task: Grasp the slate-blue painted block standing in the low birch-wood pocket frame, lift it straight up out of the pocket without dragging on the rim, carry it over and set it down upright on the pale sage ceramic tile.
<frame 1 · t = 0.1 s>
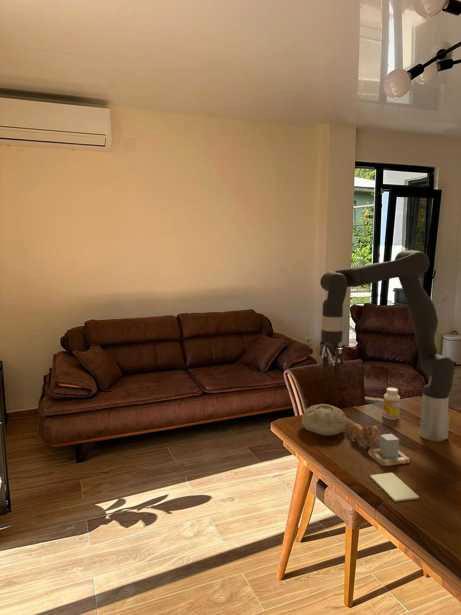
hand: (330, 372, 157), 29 cm above the table, fingers open, 8 cm apart
decorative shell: (323, 431, 176), on the table
lion figurine: (363, 444, 164), on the table
pocket frame: (388, 458, 153), on the table
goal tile: (393, 487, 135), on the table
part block: (389, 447, 153), in the pocket frame
supplement bottle: (390, 417, 190), on the table
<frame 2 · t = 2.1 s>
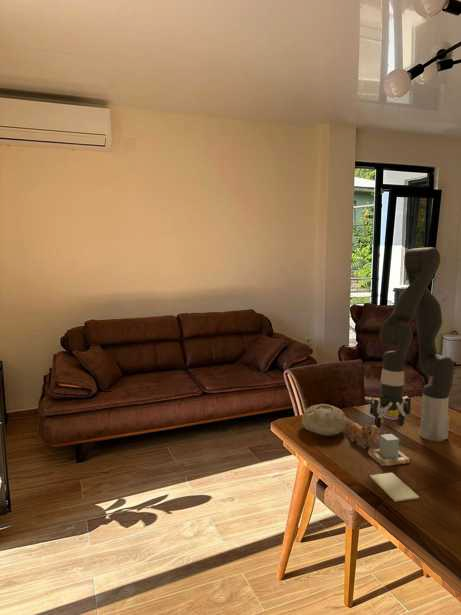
hand: (389, 426, 152), 12 cm above the table, fingers open, 8 cm apart
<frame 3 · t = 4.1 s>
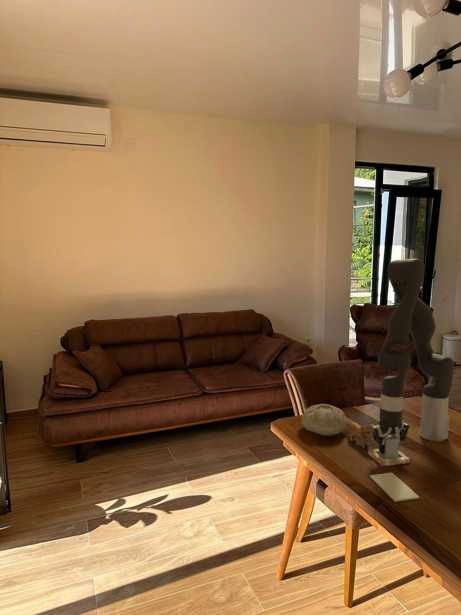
hand: (388, 452, 153), 2 cm above the table, fingers closed on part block, 4 cm apart
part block: (389, 447, 153), in the pocket frame, touching gripper
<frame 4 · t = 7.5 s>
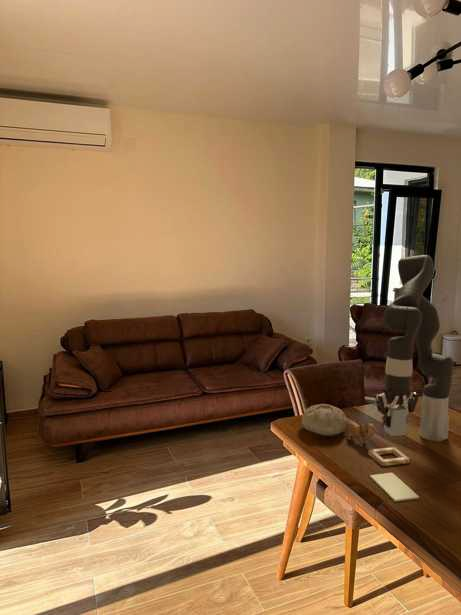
hand: (394, 425, 133), 20 cm above the table, fingers closed on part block, 4 cm apart
lion figurine: (359, 442, 166), on the table
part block: (395, 419, 132), point 22 cm above the table, touching gripper
everything else where it was.
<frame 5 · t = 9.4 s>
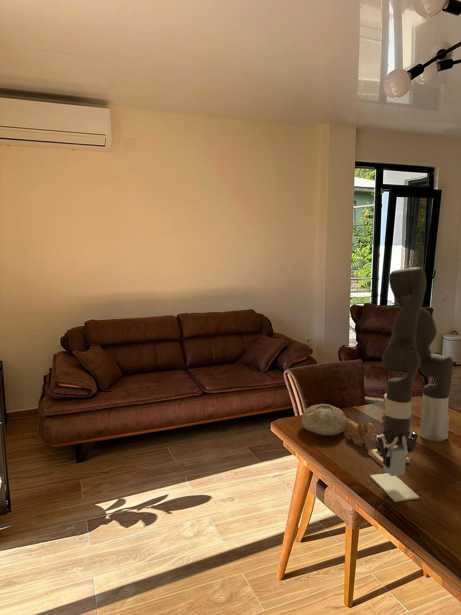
hand: (394, 465, 134), 7 cm above the table, fingers closed on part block, 4 cm apart
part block: (394, 459, 134), point 9 cm above the table, touching gripper
when the fingers open (4 cm above the table, at t = 10.9 s): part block stays where it is, resting on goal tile.
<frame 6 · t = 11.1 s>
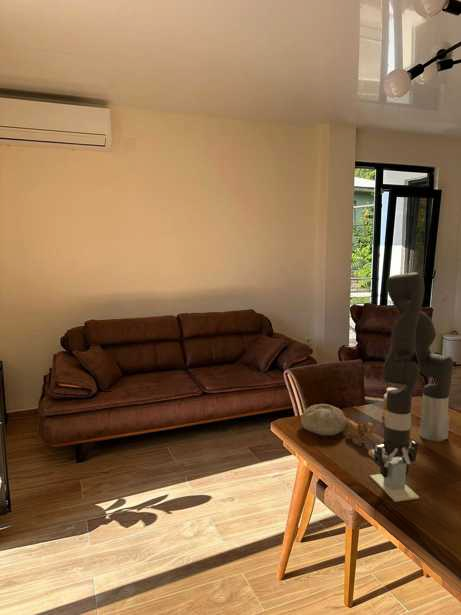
hand: (394, 475, 134), 4 cm above the table, fingers open, 6 cm apart
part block: (394, 473, 134), on the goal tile, point 5 cm above the table
everything else where it was.
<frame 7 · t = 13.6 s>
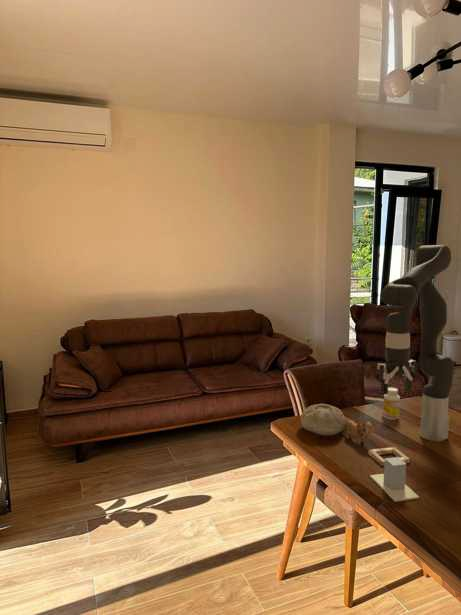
hand: (396, 392, 144), 26 cm above the table, fingers open, 8 cm apart
decorative shell: (322, 431, 176), on the table, touching lion figurine
lion figurine: (357, 440, 167), on the table, touching decorative shell
everything else where it was.
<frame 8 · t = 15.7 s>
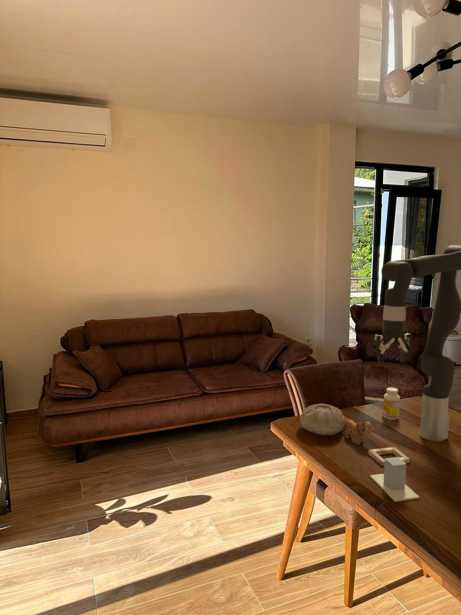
hand: (391, 362, 155), 33 cm above the table, fingers open, 8 cm apart
decorative shell: (321, 431, 176), on the table
lion figurine: (356, 440, 168), on the table
everything else where it was.
at the end: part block inside the target area on the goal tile (0.2 cm from its centre), point 4.6 cm above the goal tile's base; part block tilted 0°; the gripper is holding nothing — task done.
